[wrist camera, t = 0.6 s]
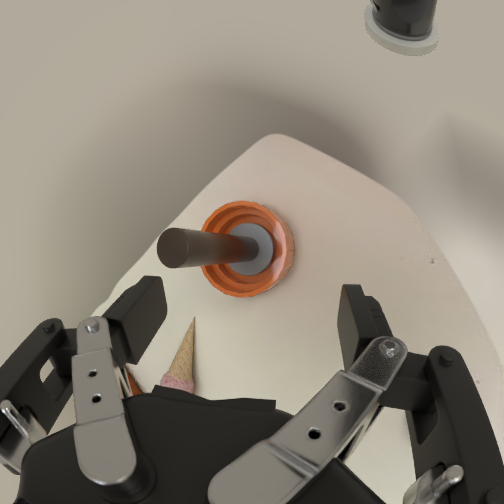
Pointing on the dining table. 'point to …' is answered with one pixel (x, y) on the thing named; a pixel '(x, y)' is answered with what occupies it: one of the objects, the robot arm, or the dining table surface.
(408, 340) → the dining table surface
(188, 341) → the ice cream cone
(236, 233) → the masher
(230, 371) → the dining table surface
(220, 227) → the orange bowl
